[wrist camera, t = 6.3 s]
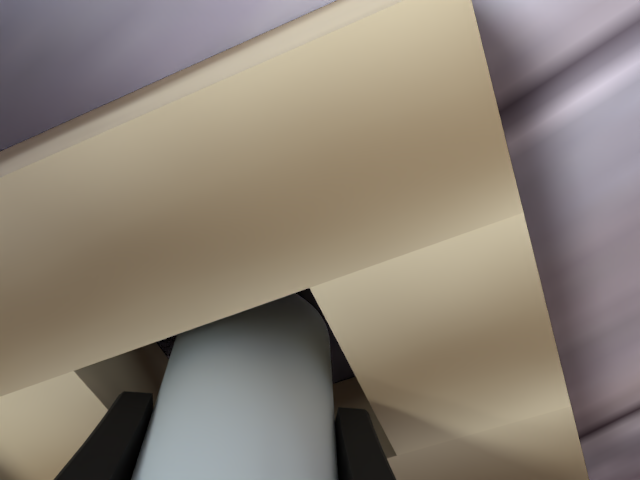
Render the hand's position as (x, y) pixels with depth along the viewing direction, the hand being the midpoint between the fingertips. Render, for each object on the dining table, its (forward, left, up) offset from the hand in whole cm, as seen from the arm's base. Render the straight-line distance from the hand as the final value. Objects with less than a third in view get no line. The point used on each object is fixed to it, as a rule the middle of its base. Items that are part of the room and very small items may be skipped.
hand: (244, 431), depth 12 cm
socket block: (0, 0, -3) cm, 3 cm away
